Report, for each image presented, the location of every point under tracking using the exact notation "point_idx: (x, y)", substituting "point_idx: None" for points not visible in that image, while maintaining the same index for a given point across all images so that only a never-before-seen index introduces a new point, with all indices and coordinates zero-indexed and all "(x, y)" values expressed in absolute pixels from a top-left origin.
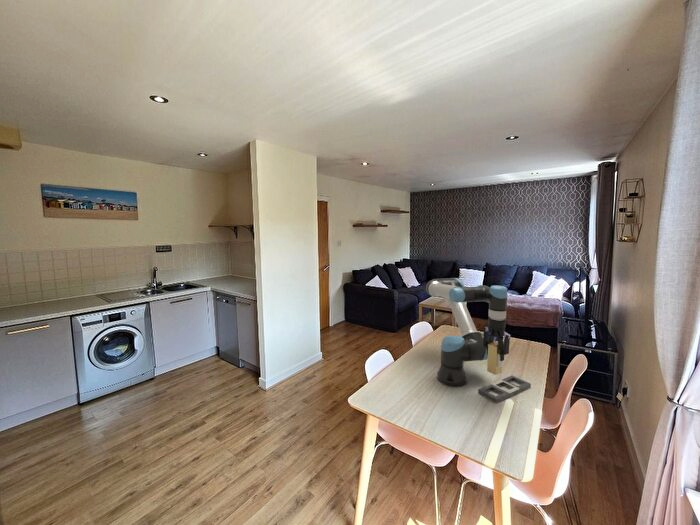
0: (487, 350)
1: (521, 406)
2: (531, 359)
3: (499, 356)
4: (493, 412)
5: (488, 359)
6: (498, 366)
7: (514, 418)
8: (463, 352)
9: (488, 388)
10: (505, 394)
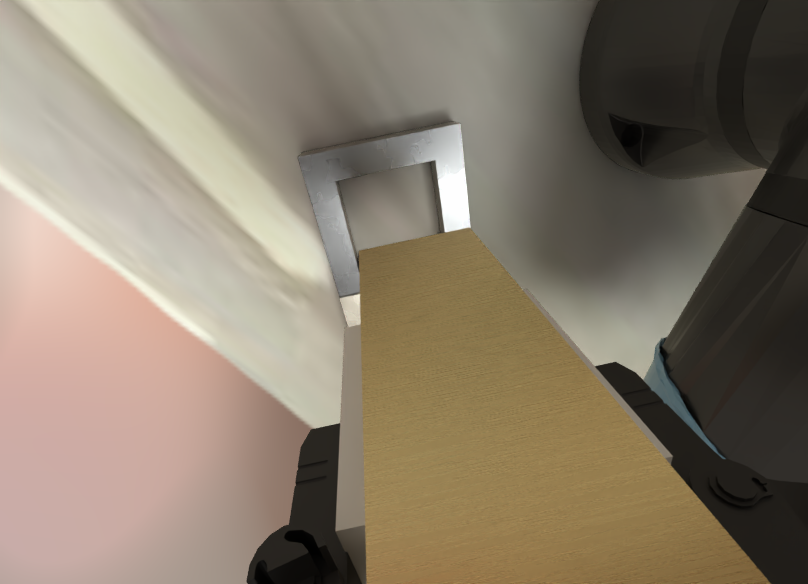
0: (676, 439)
1: (238, 281)
2: None
3: (340, 482)
4: (197, 27)
5: (516, 304)
6: (350, 333)
7: (108, 131)
8: None
9: (441, 214)
10: (337, 266)
